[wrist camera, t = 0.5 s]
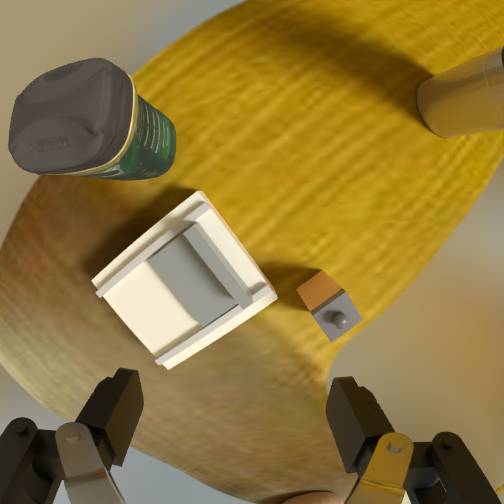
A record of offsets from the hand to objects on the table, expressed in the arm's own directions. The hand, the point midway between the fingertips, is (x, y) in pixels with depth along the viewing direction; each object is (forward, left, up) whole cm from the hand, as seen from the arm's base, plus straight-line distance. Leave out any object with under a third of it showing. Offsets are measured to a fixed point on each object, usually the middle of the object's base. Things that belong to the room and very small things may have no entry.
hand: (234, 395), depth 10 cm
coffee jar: (+1, -18, -24) cm, 29 cm away
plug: (-6, +9, -24) cm, 26 cm away
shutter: (+3, -2, -19) cm, 19 cm away
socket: (+6, -2, -24) cm, 24 cm away
